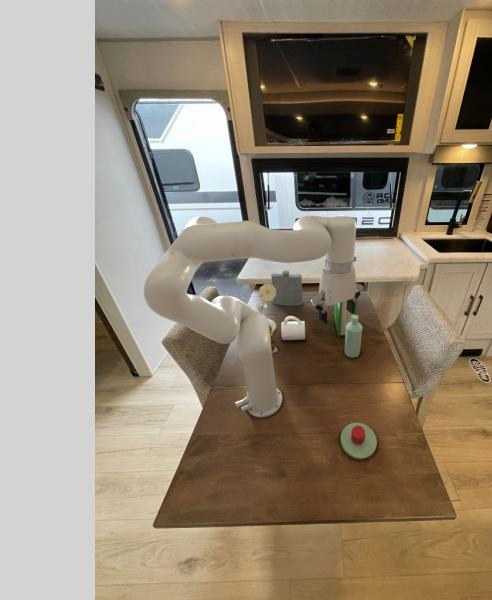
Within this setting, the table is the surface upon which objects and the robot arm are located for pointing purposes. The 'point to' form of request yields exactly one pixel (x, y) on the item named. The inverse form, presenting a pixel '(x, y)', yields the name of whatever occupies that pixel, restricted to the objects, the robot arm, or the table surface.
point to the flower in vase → (267, 295)
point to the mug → (293, 329)
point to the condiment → (272, 340)
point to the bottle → (353, 337)
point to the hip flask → (287, 289)
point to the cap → (358, 435)
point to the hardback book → (342, 317)
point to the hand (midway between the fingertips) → (337, 316)
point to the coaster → (358, 450)
